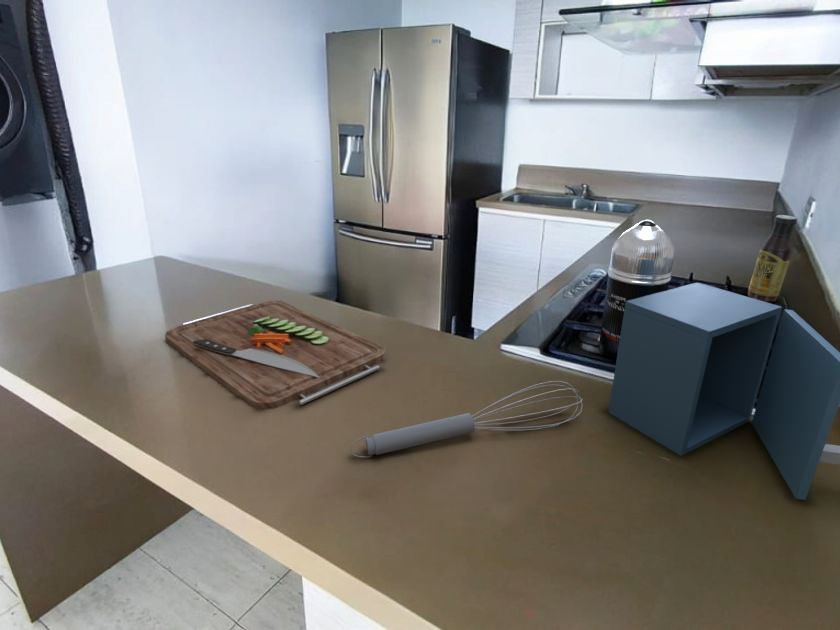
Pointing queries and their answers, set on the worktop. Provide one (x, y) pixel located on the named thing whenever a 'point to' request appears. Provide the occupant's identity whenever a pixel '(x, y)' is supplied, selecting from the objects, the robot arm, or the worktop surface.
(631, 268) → the black domed canister
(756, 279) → the sauce bottle
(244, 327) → the chopping board
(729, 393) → the cupboard
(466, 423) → the kitchen whisk
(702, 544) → the worktop surface
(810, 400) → the cupboard door
